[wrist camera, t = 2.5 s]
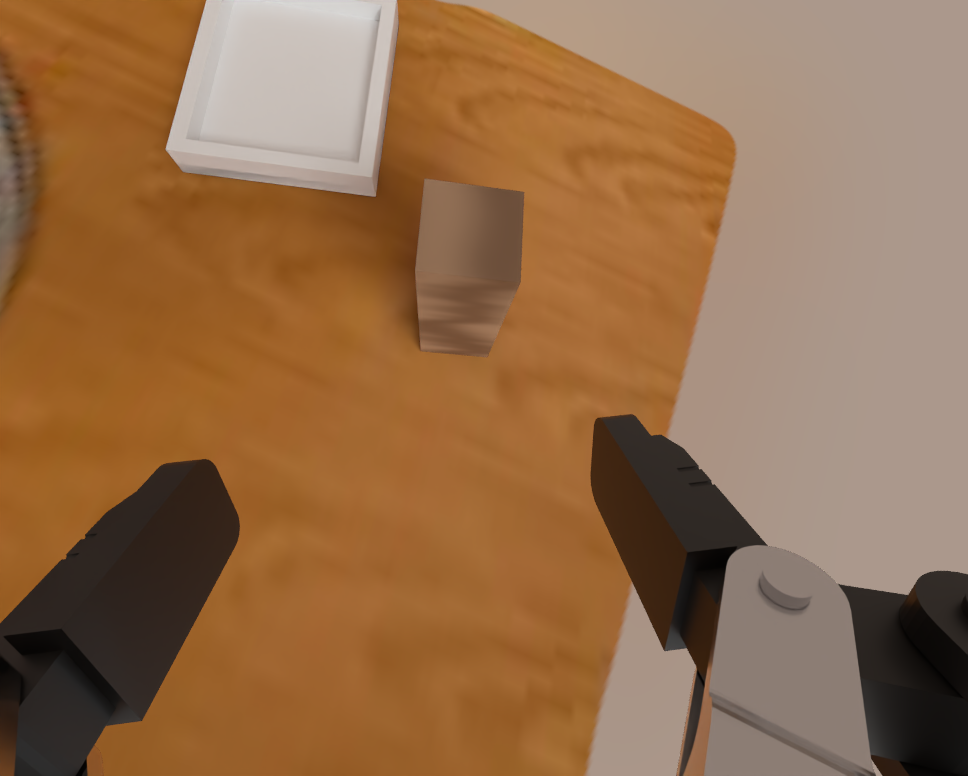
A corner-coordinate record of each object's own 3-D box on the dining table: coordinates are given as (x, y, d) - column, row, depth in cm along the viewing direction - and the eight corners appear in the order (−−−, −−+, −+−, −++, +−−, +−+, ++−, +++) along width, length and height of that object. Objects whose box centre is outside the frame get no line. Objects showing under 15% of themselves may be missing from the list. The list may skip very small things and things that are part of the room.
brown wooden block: (420, 351, 28) (414, 270, 18) (426, 289, 29) (424, 178, 19) (487, 357, 29) (520, 282, 18) (490, 296, 30) (524, 192, 19)
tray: (183, 172, 29) (165, 149, 27) (228, -5, 33) (216, -36, 31) (375, 196, 30) (371, 177, 29) (398, 25, 34) (396, -3, 32)
